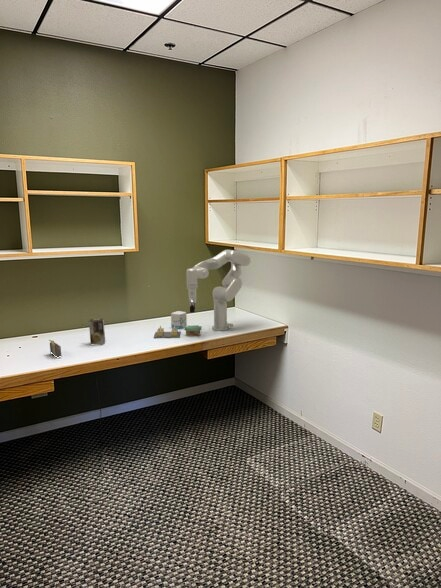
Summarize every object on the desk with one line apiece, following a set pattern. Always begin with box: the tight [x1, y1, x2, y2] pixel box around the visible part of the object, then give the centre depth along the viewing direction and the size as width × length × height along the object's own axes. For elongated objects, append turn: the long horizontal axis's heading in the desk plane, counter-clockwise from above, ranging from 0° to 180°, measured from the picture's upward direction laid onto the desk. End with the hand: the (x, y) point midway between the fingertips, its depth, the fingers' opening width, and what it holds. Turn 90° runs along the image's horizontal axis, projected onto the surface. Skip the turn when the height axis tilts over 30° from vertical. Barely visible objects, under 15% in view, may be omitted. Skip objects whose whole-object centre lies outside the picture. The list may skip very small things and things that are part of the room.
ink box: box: [170, 310, 188, 330], centre depth 318 cm, size 8×8×12 cm
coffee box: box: [88, 318, 106, 345], centre depth 281 cm, size 9×6×16 cm
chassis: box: [153, 325, 182, 339], centre depth 298 cm, size 18×12×6 cm, turn 92°
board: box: [183, 324, 202, 331], centre depth 299 cm, size 12×7×2 cm, turn 92°
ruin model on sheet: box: [48, 339, 62, 357], centre depth 258 cm, size 11×3×10 cm, turn 40°
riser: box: [185, 330, 201, 337], centre depth 299 cm, size 10×4×4 cm, turn 92°
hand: (192, 310), depth 296 cm, fingers open, 9 cm apart
